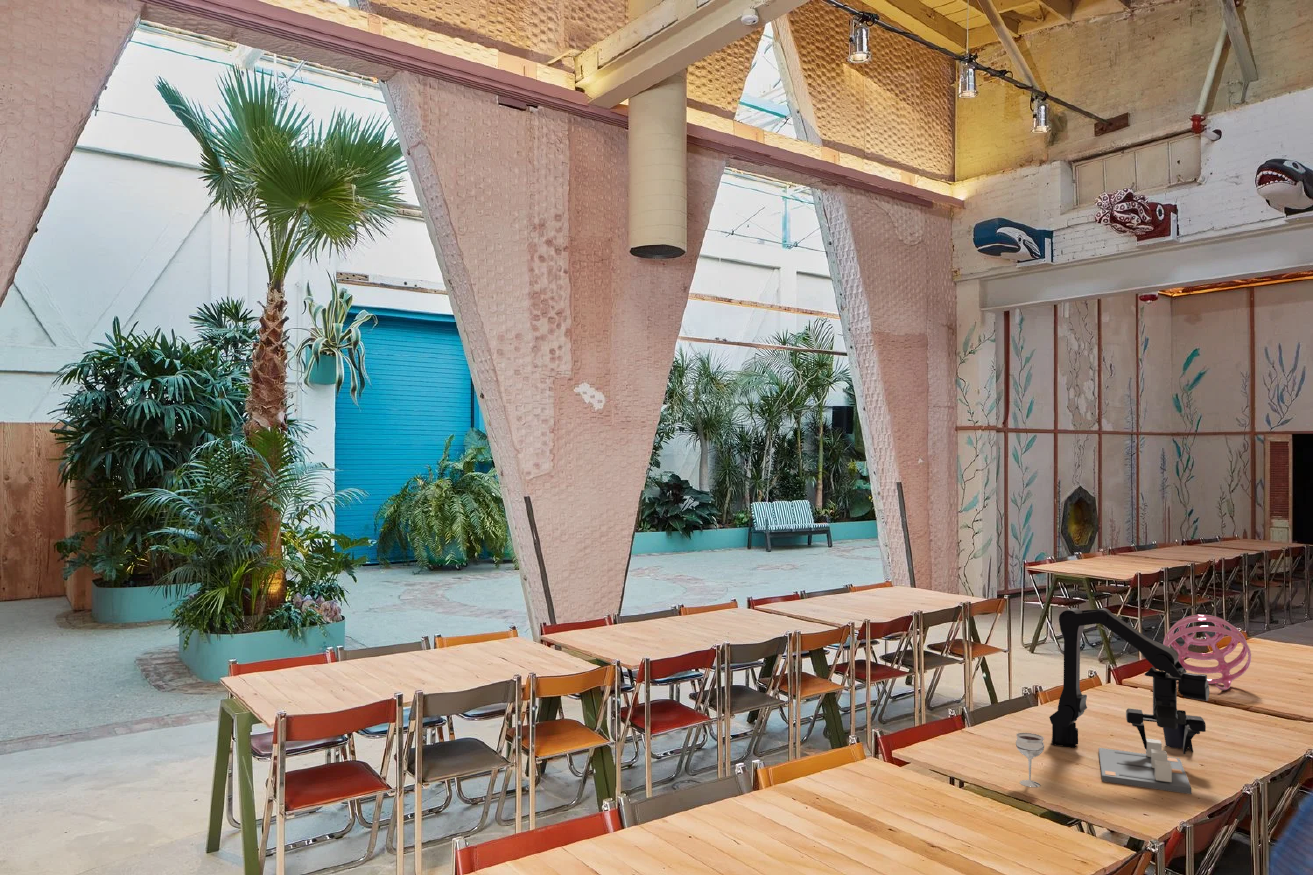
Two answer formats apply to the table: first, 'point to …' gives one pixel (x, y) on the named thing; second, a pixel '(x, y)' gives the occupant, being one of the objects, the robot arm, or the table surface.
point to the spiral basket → (1211, 641)
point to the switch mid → (1158, 756)
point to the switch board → (1140, 771)
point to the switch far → (1152, 746)
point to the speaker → (1175, 737)
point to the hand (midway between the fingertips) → (1164, 751)
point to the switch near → (1163, 771)
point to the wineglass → (1029, 751)
